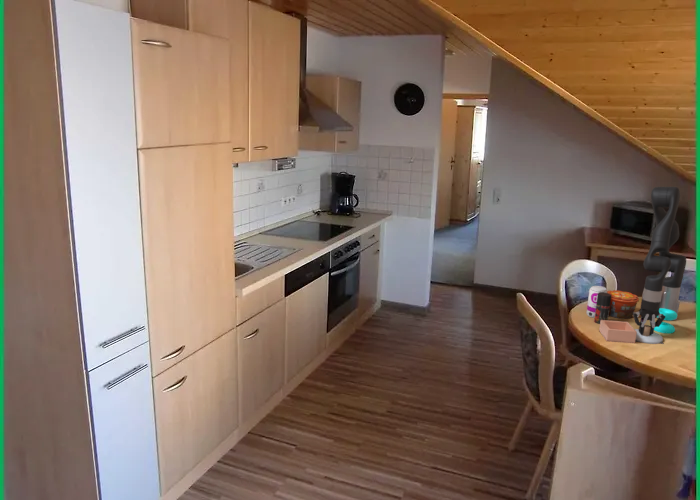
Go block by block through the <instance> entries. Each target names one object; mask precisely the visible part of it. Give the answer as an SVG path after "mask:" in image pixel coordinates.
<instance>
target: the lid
mask: <svg viewBox="0 0 700 500" xmlns="http://www.w3.org/2000/svg"><path fill="white" fill-rule="evenodd" d="M634 329H635V330H636V332H637V333H636V339H635V340H636V341H639V342H638V343H644V344H648V345H649V344H650V345H651V344H652V345H654V344H655V345H656V344H658V343H661V342H663V339H664V337H663V336H662V335H661V334H659V333H658V332H656V331H655V332H653V334H652V335H650V329H651V326H650V324H649V325H648V324H644V331H643V335H641V334H640V333H639V328H634ZM658 345H659V344H658Z"/></svg>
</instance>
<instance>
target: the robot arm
mask: <svg viewBox="0 0 700 500" xmlns="http://www.w3.org/2000/svg"><path fill="white" fill-rule="evenodd" d="M680 199H681V192H680V189H679V187H677V186H656V187H653V188H652V189H651V193H650V201H651V205H652V210H653V214H654V220H655V228H654V229H653V231H652V234H651V242H650V245H649V246H650V247H649V250H648V251H647V252H648V253H647V254H646V256H645V258H644V260H643V268H644V269H645V270H646V271H648V272H649V271H650V272H658V273H657V274H653V275H647V276H646V277H645V282H644V288H643V291H642V295H641V302H640V307H639V310H638V311H636V312H635V311H634V312H633V317H632V318H633V320H634V323H635V324H636V326H638V329H639V333H640V334H641V335H643V331H644V325H646V323H647V321H649V326H651V329H650V335H652V334H653V332H654V331H655V330H654V328H655V327H659V326H660V324H661V323H662V322H664V321H665V320H664V318H665V316H664V315H663V314H660V313H659V308H665V309H670V310H673V311H675V312H676V313H677V316H678V315H679V308H680V301H679V298H680V292H681V287H682V282H683V278H684V274H685V270H686V266H687V257H686V256H685V255H683V254H676V253H671V252H670V249H671V247H673V246H674V245H675V243H677V241H678V240H679V237H680V228H679V223H678V222H677V220H675V219H676V215H677V212H678V208H679V204H680ZM665 208H668V210H667V211H666V210H665ZM656 254H658V255H656ZM668 272H669V273H672V274H673V275H672V276H667V274H668ZM657 316H658V318H657ZM639 317H640V319H639ZM677 319H678V317H677V318H676V319H674V320H673V321H677ZM668 321H669V322H670V321H672V320H668Z"/></svg>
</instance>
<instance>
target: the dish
mask: <svg viewBox="0 0 700 500" xmlns="http://www.w3.org/2000/svg"><path fill="white" fill-rule="evenodd" d="M635 329H636V328H634V327H633V326H632V325H631V324H630V323H629V322H628V321H620V320H619V321H618V320H609V319H608V320H601V321H600V324H599V329H598V332H599V333H600V335H601V336H602V337H603V339H604V340H605V341H606V342H612V343H624V344H635V343H636V342H635V339H636V333H637V332H636V330H635Z"/></svg>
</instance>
